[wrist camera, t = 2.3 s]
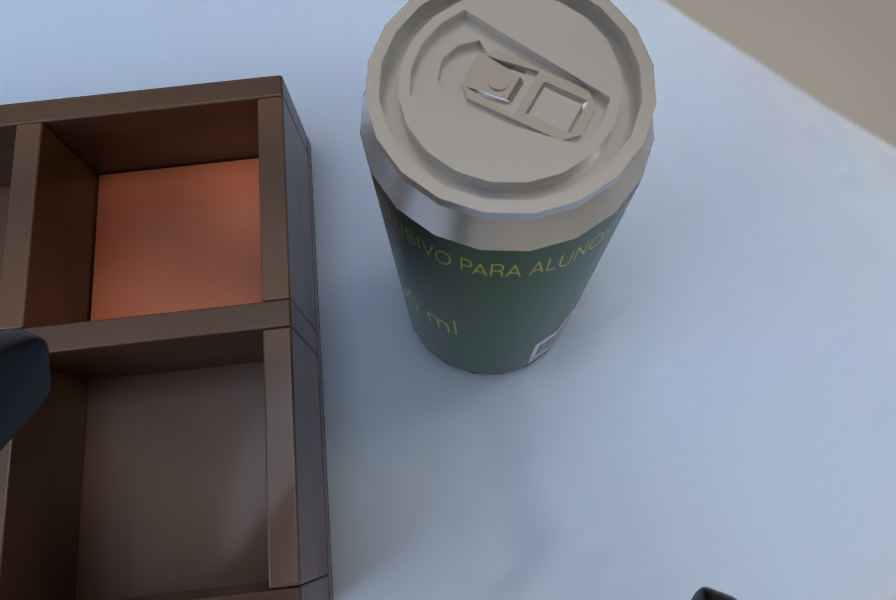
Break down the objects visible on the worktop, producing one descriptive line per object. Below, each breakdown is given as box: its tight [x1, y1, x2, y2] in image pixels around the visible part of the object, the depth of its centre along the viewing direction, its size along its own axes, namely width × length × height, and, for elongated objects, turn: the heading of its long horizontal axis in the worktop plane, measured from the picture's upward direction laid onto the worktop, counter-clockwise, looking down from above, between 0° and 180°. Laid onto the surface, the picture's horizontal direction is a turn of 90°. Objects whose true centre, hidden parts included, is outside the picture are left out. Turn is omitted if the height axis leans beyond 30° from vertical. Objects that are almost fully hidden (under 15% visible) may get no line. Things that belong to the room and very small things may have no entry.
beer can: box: [360, 0, 656, 374], centre depth 17 cm, size 5×5×12 cm
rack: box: [0, 76, 333, 600], centre depth 20 cm, size 16×16×4 cm
